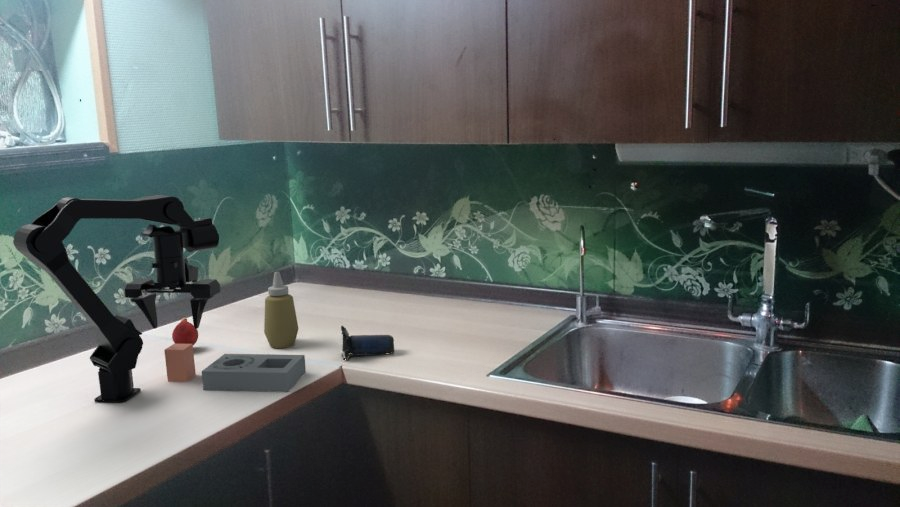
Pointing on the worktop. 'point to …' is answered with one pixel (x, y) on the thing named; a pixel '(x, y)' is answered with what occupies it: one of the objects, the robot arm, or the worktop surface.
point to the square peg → (180, 362)
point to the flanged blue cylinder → (366, 344)
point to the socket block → (254, 372)
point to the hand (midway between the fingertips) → (176, 328)
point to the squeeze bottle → (280, 315)
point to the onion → (185, 333)
